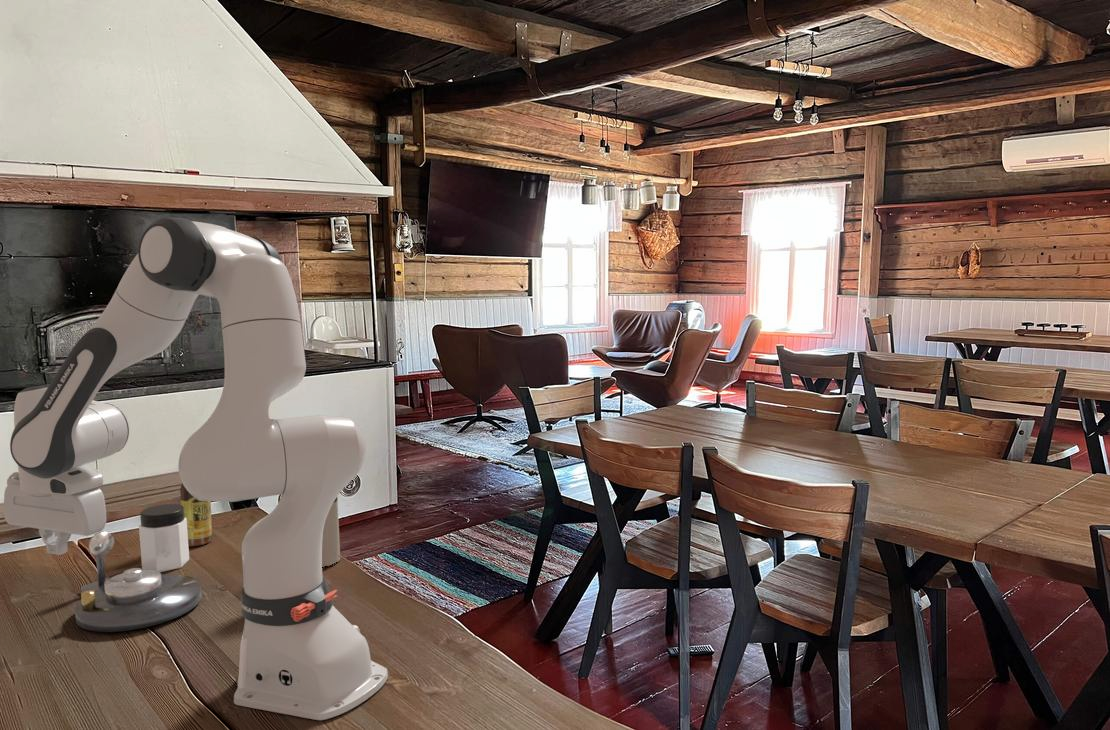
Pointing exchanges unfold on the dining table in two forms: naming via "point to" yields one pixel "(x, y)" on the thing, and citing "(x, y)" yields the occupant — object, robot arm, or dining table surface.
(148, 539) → the jar
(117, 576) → the cover
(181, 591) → the turntable
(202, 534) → the sauce bottle
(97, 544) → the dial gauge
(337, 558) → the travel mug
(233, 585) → the dining table surface
